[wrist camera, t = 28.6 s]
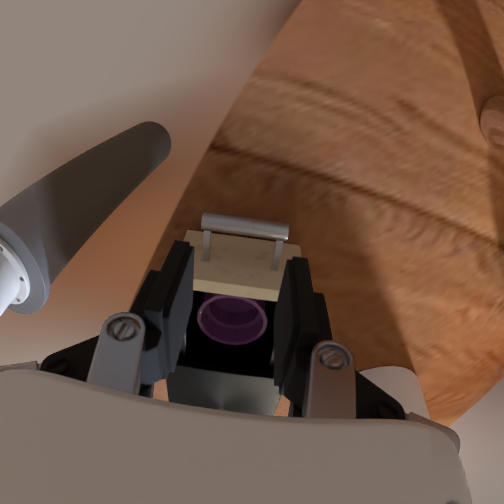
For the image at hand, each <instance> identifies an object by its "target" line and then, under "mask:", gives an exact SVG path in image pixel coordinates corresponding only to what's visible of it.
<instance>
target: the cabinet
mask: <svg viewBox="0 0 504 504" xmlns="http://www.w3.org/2000/svg"><path fill="white" fill-rule="evenodd" d="M166 383H167V391H168V399H169V402H173V403H178V404H184V405H190V406H196V407H202V408H209V409H216V410H223V411H231V412H239V413H248V414H259V415H270V416H273V415H274V413H275V410H276V408H277V405H278V403H279V400H280V397H281V395H279V386H274V373H272V372H262V371H253V370H244V369H236V368H228V367H221V366H214V365H207V364H201V363H194V362H188V361H182V360H179V356H178V360H177V363H176V367H175V371H174V372H169V374H168V378H167V380H166Z"/></svg>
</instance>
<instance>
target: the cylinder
mask: <svg viewBox="0 0 504 504" xmlns="http://www.w3.org/2000/svg"><path fill="white" fill-rule="evenodd" d="M359 373H360V374H362V375H363V376H364V377H366V378H367V379H368V380H370V381H371V382H372V383H374V384H375V385H377V386H378V387H379V388H381V389H382V390H383V391H385V392H386V393H387V394H389V395H390V396H392V397H393V398H394V399H396V400H397V401H398V402H399V403H400V404H401V405H402V407H403V409H404V411H405V413H407V414H409V413H410V412H413V413H415V414H418V415H420V416H422V417H424V418H427V419H429V420H430V416H429V413H428V410H427V407H426V403H425V400H424V397H423V394H422V391H421V388H420V385H419V382H418V379H417V376H416V375H415V374H414V373H413V372H412V371H411V370H409V369H407V368H404V367H397V366H384V367H377V368H372V369H367V370H364V371H361V372H359Z"/></svg>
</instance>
